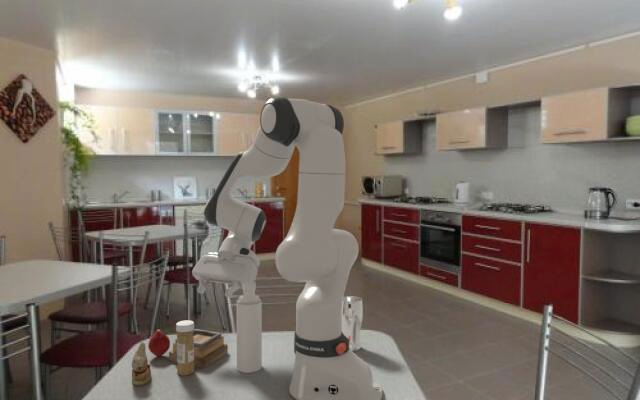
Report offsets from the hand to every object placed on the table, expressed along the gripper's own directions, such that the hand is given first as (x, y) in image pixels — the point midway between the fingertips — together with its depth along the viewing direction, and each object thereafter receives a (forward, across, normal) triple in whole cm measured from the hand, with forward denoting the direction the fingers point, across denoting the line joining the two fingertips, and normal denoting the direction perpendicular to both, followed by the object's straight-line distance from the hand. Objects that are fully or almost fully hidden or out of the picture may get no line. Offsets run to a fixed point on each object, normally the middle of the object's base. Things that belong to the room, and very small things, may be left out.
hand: (213, 294), depth 128 cm
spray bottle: (+15, +14, +10) cm, 23 cm away
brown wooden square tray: (+15, -3, +10) cm, 18 cm away
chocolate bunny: (+27, -7, -2) cm, 28 cm away
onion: (+18, -13, +7) cm, 24 cm away
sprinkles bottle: (+22, 0, +4) cm, 22 cm away
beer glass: (-2, +35, +27) cm, 44 cm away
